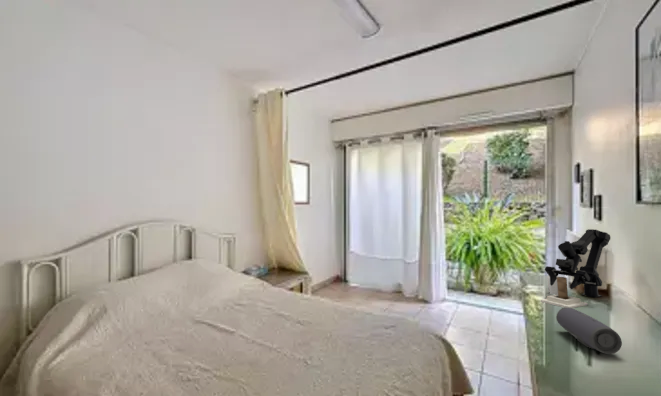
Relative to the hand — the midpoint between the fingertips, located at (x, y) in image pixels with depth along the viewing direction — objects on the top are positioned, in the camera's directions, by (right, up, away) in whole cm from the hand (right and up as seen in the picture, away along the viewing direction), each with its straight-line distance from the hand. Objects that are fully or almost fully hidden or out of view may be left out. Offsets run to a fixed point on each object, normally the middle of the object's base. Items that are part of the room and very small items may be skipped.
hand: (560, 286), depth 157 cm
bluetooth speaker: (-26, -7, -47) cm, 54 cm away
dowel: (+2, -9, 0) cm, 9 cm away
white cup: (+10, -9, +16) cm, 21 cm away
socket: (+2, -9, 0) cm, 9 cm away
